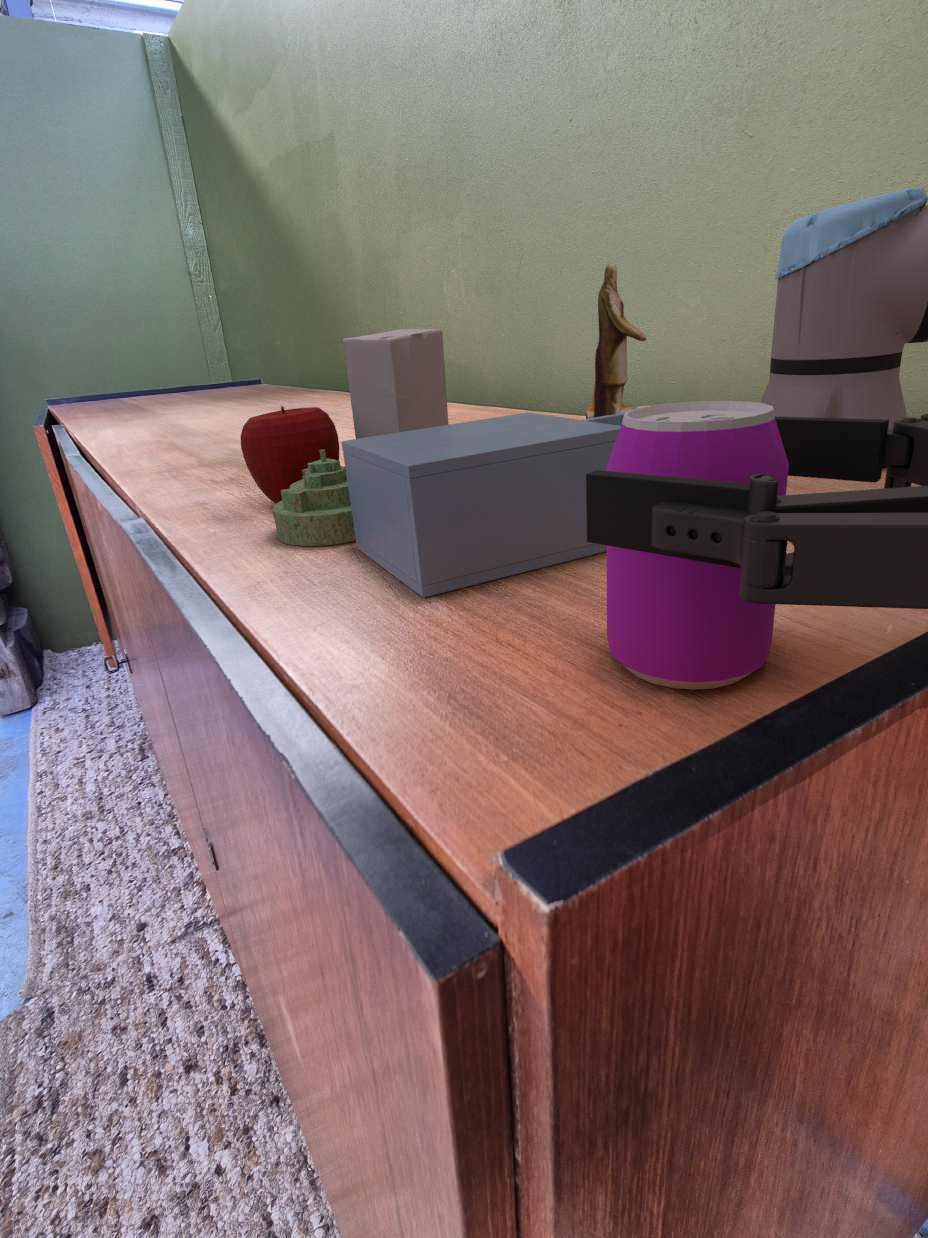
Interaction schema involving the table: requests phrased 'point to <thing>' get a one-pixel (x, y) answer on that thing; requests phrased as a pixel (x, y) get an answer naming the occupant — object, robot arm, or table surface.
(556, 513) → the cabinet
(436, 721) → the table surface
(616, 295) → the figurine
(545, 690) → the table surface
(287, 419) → the apple
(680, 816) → the table surface
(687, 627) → the beverage can
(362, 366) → the cosmetic box
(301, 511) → the decorative artifact
